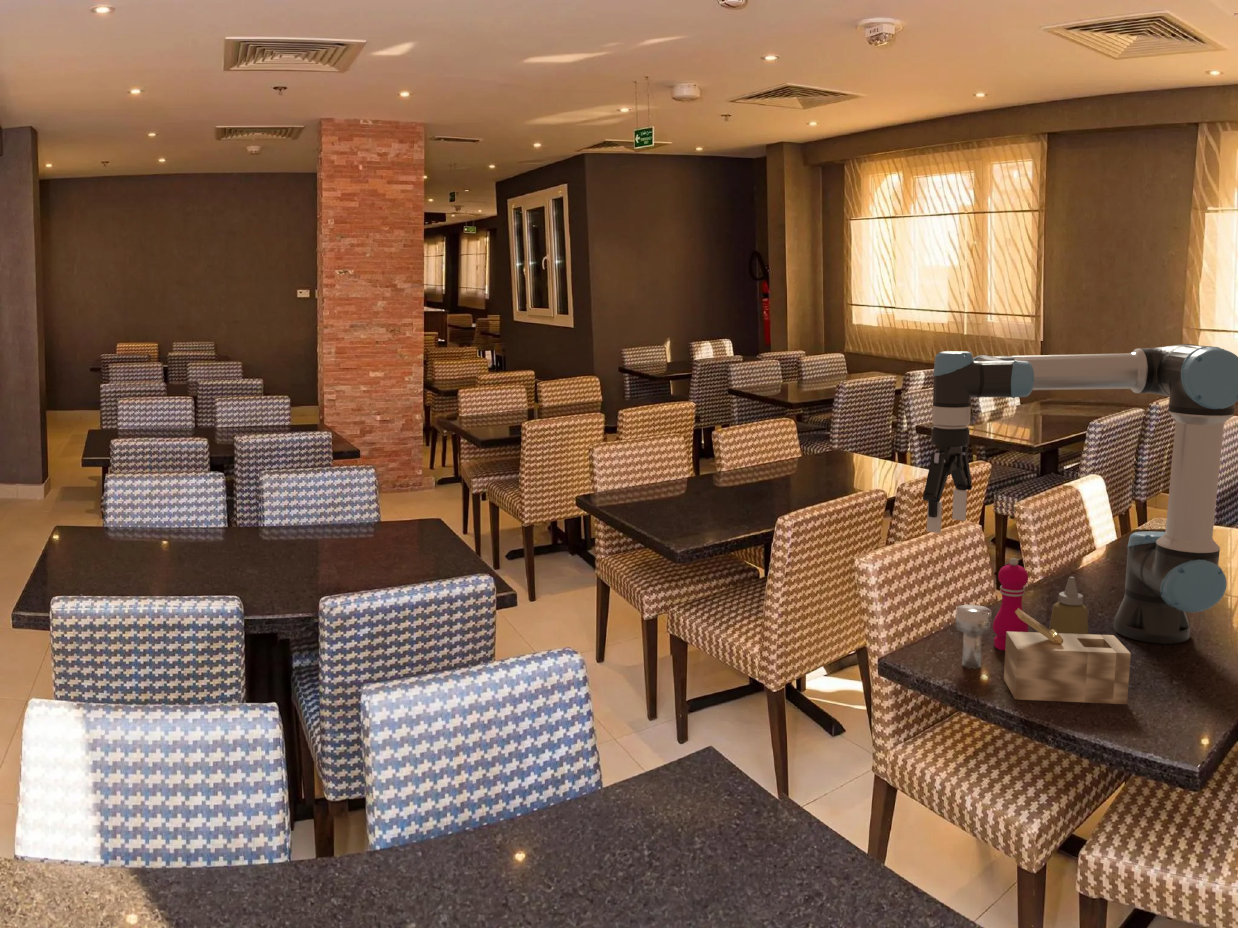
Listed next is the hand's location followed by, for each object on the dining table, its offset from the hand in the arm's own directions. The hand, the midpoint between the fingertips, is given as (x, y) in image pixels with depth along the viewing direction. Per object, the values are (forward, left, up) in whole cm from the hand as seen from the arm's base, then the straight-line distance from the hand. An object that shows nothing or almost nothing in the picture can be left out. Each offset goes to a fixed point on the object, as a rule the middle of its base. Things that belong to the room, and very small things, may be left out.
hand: (946, 525), depth 216 cm
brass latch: (-14, +21, -15) cm, 29 cm away
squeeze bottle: (-25, +4, -28) cm, 37 cm away
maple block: (-20, +21, -28) cm, 40 cm away
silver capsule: (-5, +9, -28) cm, 29 cm away
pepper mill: (-15, -3, -28) cm, 32 cm away
